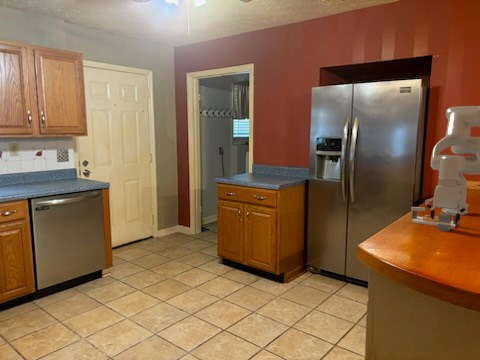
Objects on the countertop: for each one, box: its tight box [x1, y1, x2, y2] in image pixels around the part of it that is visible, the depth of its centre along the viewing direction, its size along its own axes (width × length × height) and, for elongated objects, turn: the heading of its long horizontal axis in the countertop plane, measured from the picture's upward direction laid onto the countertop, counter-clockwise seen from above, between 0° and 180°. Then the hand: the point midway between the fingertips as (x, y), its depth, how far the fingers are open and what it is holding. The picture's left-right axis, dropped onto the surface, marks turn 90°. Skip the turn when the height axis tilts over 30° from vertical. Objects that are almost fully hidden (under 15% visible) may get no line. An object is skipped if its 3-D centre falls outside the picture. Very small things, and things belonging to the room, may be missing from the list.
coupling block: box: [436, 212, 453, 233], centre depth 163 cm, size 5×6×7 cm
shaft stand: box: [411, 206, 462, 229], centre depth 175 cm, size 21×10×7 cm, turn 53°
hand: (444, 220), depth 163 cm, fingers open, 9 cm apart
